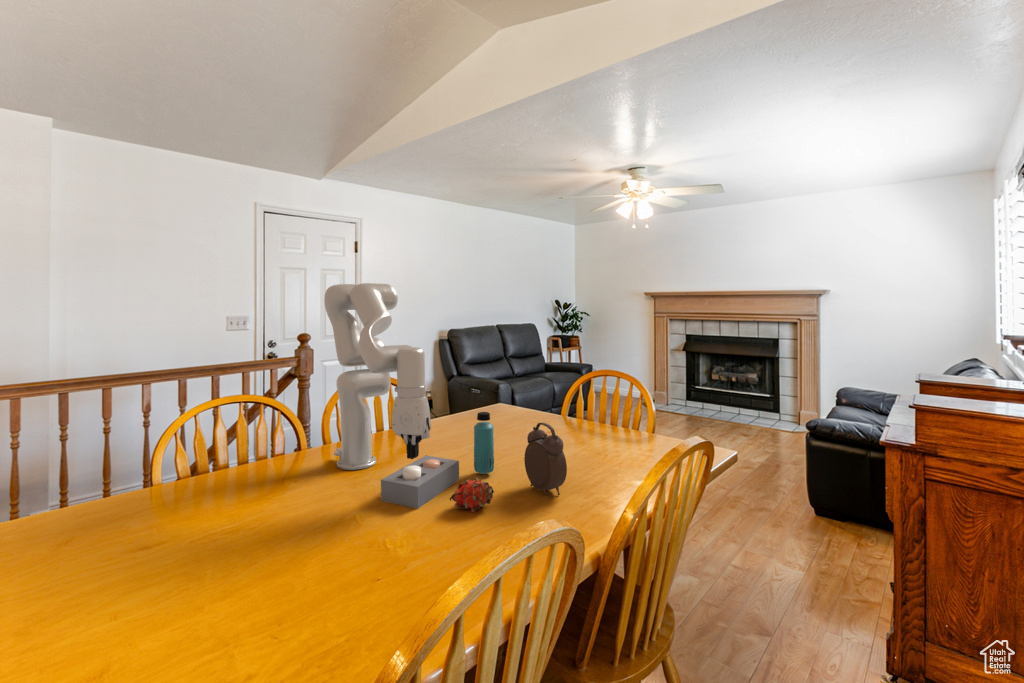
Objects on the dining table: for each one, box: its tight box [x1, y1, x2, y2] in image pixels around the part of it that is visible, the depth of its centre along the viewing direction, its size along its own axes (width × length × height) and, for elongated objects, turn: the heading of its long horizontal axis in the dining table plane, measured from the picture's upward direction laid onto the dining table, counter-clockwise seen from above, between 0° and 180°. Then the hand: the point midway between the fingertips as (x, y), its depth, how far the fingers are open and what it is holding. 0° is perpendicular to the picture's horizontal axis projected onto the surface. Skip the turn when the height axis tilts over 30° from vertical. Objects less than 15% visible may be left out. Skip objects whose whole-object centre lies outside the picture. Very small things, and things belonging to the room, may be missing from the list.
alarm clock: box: [523, 422, 568, 497], centre depth 136 cm, size 14×7×20 cm, turn 30°
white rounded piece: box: [402, 465, 421, 481], centre depth 132 cm, size 5×5×4 cm
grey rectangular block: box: [380, 455, 460, 510], centre depth 137 cm, size 12×22×6 cm, turn 157°
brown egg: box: [423, 459, 440, 469], centre depth 141 cm, size 5×5×4 cm
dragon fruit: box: [449, 477, 495, 513], centre depth 125 cm, size 8×8×12 cm
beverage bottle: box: [473, 411, 495, 474], centre depth 148 cm, size 6×7×20 cm
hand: (412, 457), depth 131 cm, fingers closed
